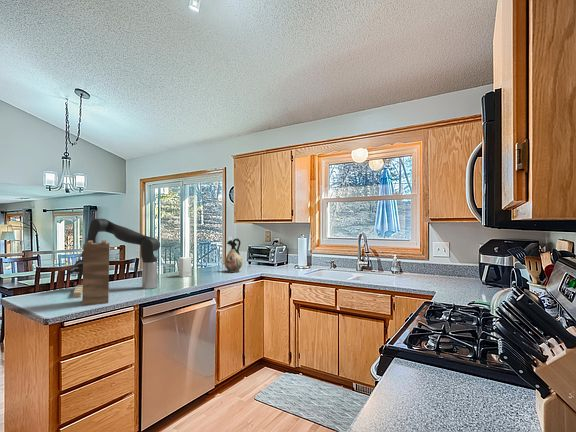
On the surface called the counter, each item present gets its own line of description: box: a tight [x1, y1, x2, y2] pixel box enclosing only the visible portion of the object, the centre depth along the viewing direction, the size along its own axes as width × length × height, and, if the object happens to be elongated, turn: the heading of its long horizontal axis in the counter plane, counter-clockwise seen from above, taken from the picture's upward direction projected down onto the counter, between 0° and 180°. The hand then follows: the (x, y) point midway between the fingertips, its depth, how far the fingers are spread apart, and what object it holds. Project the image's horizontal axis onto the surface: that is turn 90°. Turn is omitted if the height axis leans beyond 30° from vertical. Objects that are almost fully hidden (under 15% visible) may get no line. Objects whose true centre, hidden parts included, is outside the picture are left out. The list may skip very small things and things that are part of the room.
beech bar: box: [72, 284, 83, 299], centre depth 199 cm, size 26×4×4 cm, turn 29°
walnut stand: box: [81, 239, 110, 306], centre depth 179 cm, size 12×12×34 cm
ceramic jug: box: [224, 238, 243, 273], centre depth 289 cm, size 17×15×30 cm
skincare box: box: [178, 256, 192, 278], centre depth 263 cm, size 8×7×16 cm
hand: (79, 271), depth 200 cm, fingers open, 8 cm apart
